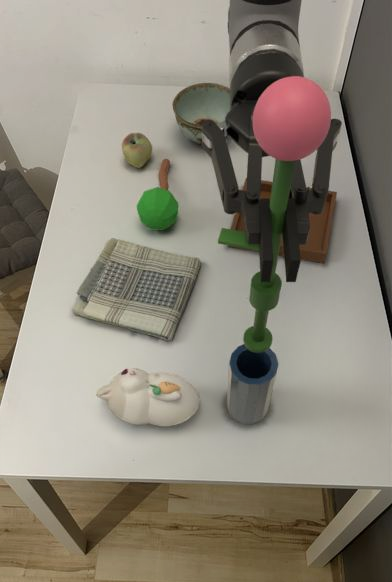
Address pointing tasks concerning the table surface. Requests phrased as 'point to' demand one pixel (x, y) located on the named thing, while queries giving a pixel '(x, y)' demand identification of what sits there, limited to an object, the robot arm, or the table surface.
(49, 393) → the table surface
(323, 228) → the tray
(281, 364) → the table surface
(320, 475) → the table surface
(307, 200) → the robot arm
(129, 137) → the apple
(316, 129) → the flower
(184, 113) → the bowl
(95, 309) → the dish towel
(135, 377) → the cat figurine
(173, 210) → the tree
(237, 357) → the vase
